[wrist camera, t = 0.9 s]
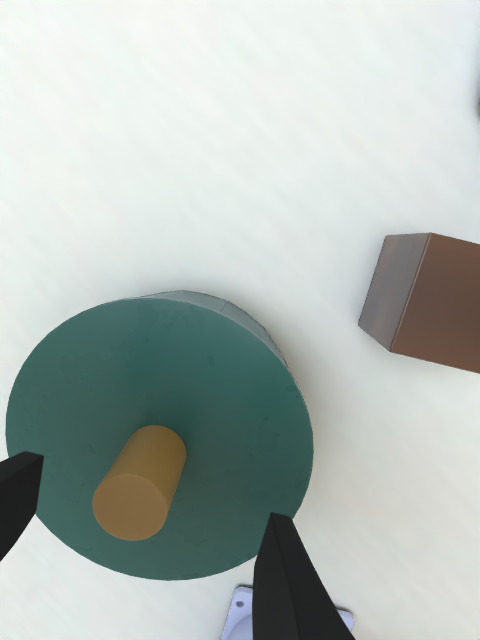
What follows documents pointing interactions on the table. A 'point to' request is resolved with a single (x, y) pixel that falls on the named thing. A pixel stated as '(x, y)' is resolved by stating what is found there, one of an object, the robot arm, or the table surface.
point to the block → (427, 299)
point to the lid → (161, 437)
